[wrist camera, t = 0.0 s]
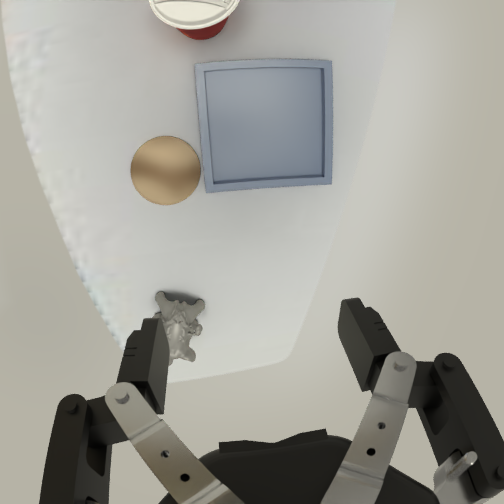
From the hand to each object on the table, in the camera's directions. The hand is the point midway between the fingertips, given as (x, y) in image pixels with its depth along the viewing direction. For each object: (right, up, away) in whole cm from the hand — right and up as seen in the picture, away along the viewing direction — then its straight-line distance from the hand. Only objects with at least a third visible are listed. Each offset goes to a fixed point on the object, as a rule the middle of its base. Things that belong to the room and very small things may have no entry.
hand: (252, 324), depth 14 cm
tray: (+2, +19, +23) cm, 30 cm away
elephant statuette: (-12, -8, +37) cm, 39 cm away
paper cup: (-6, +31, +16) cm, 35 cm away
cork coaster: (-11, +13, +25) cm, 30 cm away
